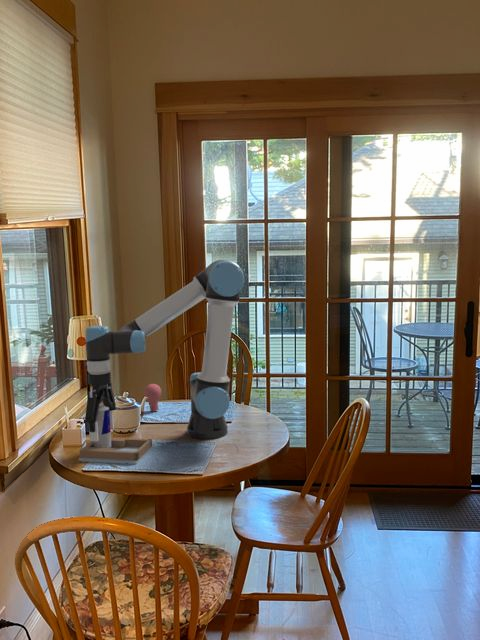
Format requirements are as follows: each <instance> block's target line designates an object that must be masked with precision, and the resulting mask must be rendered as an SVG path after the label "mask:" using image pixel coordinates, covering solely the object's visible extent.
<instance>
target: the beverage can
mask: <svg viewBox="0 0 480 640" xmlns="http://www.w3.org/2000/svg"><path fill="white" fill-rule="evenodd" d="M96 421H97V422H98V441H94V447H95V448H111V437H112V435H111V434H112V431H111V430H112V429H111V428H110V410H109V407H105V406H104V405H103V406H99V410H98V414H97V419H96Z"/></svg>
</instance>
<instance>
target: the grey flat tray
mask: <svg viewBox="0 0 480 640" xmlns="http://www.w3.org/2000/svg"><path fill="white" fill-rule="evenodd" d="M153 448H154V445H153V440H152V438H137V437H135V438H133V437H112V436H111V448H95V447H94V441H90V442H89V443H87V444H86V445H85V446H84V447H82V448H81V449H79V458H78V462H86V463H87V462H91V463H107V464H123V463H128V464H129V465H137V464H138V463H139V462H140V461H141V460H142V459H143V458H144V457H145V456H146V455H147V454H148V453H149V452H150V451H151V450H152V449H153Z"/></svg>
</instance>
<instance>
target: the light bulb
mask: <svg viewBox="0 0 480 640" xmlns="http://www.w3.org/2000/svg"><path fill="white" fill-rule="evenodd" d="M144 396H145V398H146V397H148V399H147V398H146V400H147V402H148V405H149V410H151V412H156V410H157V411H158V410H159V400H160V398H161V396H162V388H161V387H160V385H158V384H156V383H149V384H148V385H147V386H146V387H145V388H144Z"/></svg>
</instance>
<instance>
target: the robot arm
mask: <svg viewBox="0 0 480 640" xmlns="http://www.w3.org/2000/svg"><path fill="white" fill-rule="evenodd" d="M192 279H193V280H192V281H191V282H189V283H188V284H187V285H185V286H183V287H182V288H180V289H179V290H177V291H176V292H174V293H173V294H171V295H170V296H168V297H166V299H164V300H162V301H161V302H160V303H158V304H156V305H155V306H153V307H151V308H150V309H149V310H147V311H146V312H144V313H142V314H141V315H139V317H137V318H136V319H134V320H132V321H130V322H129V323H128V324H125V325H123V326H122V327H120V328H119V330H118V331H110V330H109V326H107V325H92V326H88V327H86V328H85V348H86V349H85V352H86V353H85V354H86V355H85V356H86V367H87V368H86V370H87V372H88V373H87V384H88V385H89V386H91V389H92V390H89V391H87V400H86V401H87V402H86V408H85V415H84V416H85V417H84V422H86V423H88V430H89V441H90V442H91V441H98V422H97V421H96V419H97V414H98V410H99V407H100V404H103V406H105V407H109V410H110V428H111V430H115V427H114V426H115V420H114V411H116V410H117V407H116V406H117V403H116V400H115V396H114V392H113V391H114V390H113V388H112V387H113V386H112V377H111V376H112V375H111V371H112V370H111V369H112V367H111V357H110V355H117V354H137V353H144V352H145V351H146V338H147V337H149V336H150V335H151V334H153V333H155V332H156V331H157V330H159V329H161V328H162V327H164V326H166V325H167V324H168V323H170V322H171V321H173V320H175V318H178V317H179V316H180V315H182V314H183V313H185V312H186V311H187V310H189V309H191V308H193V307H194V306H196V305H198V303H200V302H202V301H203V300H205V299H206V301H207V302H208V304H209V305H208V312H207V313H208V314H207V322H206V332H205V338H204V339H205V340H204V341H205V342H204V347H203V349H204V350H203V357H202V366H201V367H202V368H201V371H200V372H194V373H191V375H190V376H189V377H190V378H189V383H190V410H191V411H190V412H191V414H190V415H189V416H190V417H189V420H188V423H187V428H186V433H187V435H188V436H189V437H190V438H194V439H201V440H210V439H211V440H212V439H218V438H221V437H223V436H225V435H227V434H228V423H227V421H226V418H225V414H227V412H228V410H229V407H230V405H231V399H230V395H229V392H230V383H231V378H230V377H229V376H228V374H227V373H228V362H229V355H230V346H231V345H230V344H231V339H232V338H231V337H232V330H233V319H234V311H235V306H236V305H237V304H238V303H240V297H241V291H242V289H243V288H244V284H245V274H244V271H243V270H242V268H241V267H240V266H239V264H237V263H236V262H234V261H232V260H229V259H228V260H225V259H219V260H215V261H214V262H213V261H212V262H211V263H210V264H209V265H207V267H205V268H204V269H203V270H202V271H200V272H199V273H198V274H196V275H195V276H194V277H193V278H192Z"/></svg>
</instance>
